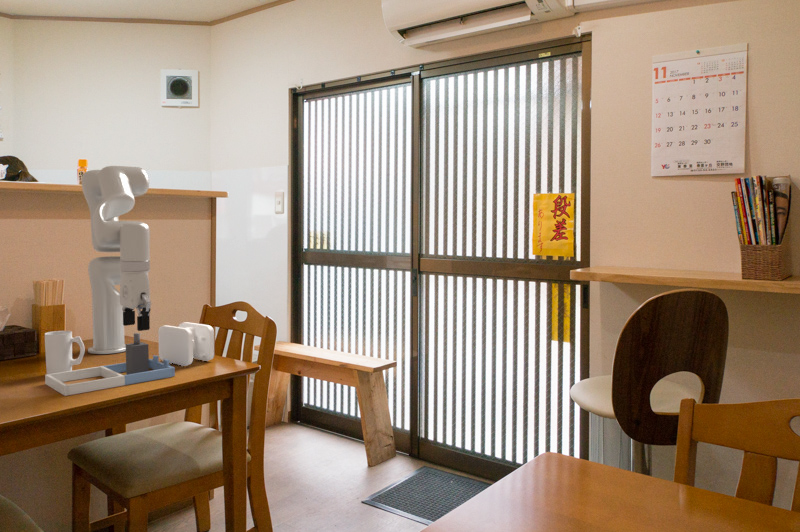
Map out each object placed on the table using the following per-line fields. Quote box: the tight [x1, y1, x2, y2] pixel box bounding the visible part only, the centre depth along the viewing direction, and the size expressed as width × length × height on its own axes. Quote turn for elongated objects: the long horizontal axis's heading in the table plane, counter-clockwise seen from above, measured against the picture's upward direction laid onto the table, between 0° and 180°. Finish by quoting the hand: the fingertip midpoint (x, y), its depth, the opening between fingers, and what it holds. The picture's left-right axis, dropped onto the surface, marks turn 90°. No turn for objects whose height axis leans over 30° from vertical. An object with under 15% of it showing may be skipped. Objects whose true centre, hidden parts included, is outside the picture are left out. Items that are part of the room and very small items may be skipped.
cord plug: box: [125, 332, 150, 375], centre depth 172 cm, size 4×4×12 cm
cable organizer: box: [157, 321, 215, 367], centre depth 190 cm, size 15×11×12 cm
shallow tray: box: [44, 354, 176, 397], centre depth 168 cm, size 16×28×4 cm, turn 136°
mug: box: [44, 330, 86, 375], centre depth 173 cm, size 10×7×12 cm, turn 100°
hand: (136, 327), depth 172 cm, fingers open, 9 cm apart
